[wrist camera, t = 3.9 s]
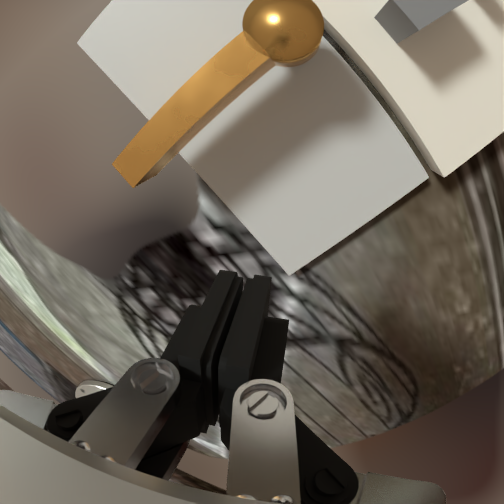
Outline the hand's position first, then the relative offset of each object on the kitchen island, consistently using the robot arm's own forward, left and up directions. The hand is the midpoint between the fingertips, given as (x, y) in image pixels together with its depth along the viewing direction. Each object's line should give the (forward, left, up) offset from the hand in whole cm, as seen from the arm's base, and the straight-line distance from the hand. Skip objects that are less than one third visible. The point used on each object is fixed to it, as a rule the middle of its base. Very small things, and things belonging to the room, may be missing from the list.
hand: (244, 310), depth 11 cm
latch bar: (+7, -3, -9) cm, 12 cm away
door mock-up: (+7, -10, -13) cm, 18 cm away
